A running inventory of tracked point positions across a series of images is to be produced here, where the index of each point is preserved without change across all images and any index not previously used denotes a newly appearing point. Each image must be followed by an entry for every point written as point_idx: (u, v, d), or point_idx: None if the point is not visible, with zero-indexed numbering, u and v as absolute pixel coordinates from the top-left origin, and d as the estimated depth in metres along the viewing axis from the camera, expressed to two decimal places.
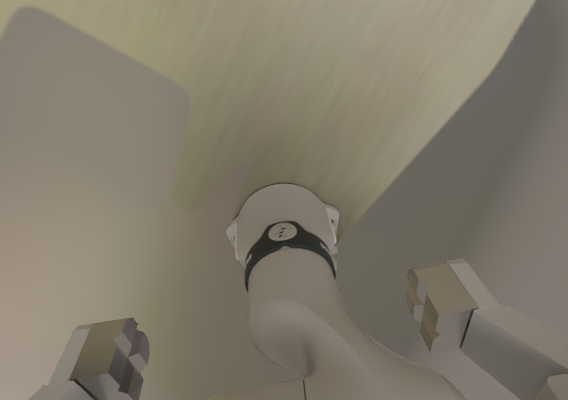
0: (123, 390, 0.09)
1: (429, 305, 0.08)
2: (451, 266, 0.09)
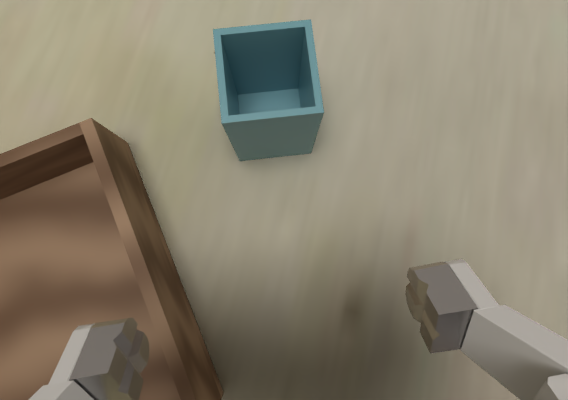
0: (123, 390, 0.09)
1: (429, 305, 0.08)
2: (451, 266, 0.09)
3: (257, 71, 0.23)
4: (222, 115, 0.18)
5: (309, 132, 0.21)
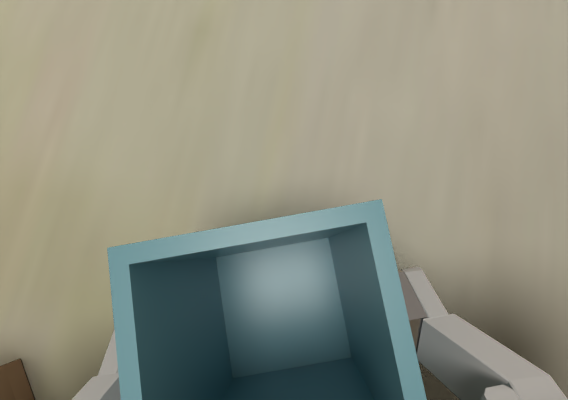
0: None
1: None
2: (407, 274, 0.09)
3: (247, 249, 0.11)
4: None
5: None
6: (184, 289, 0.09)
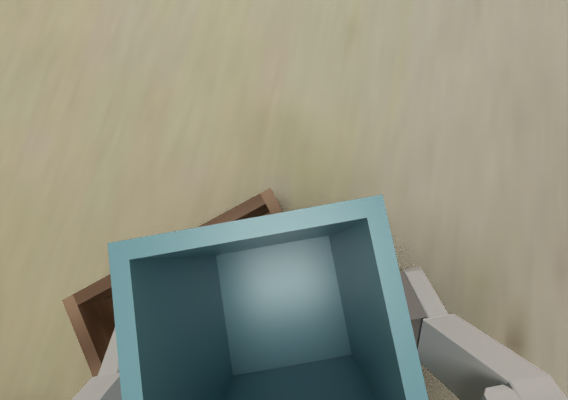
0: None
1: None
2: (407, 274, 0.09)
3: (247, 246, 0.11)
4: None
5: None
6: (184, 286, 0.09)
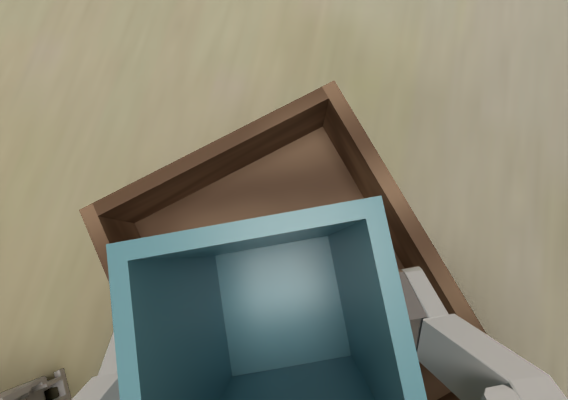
0: None
1: None
2: (407, 274, 0.09)
3: (246, 247, 0.11)
4: None
5: None
6: (183, 286, 0.09)
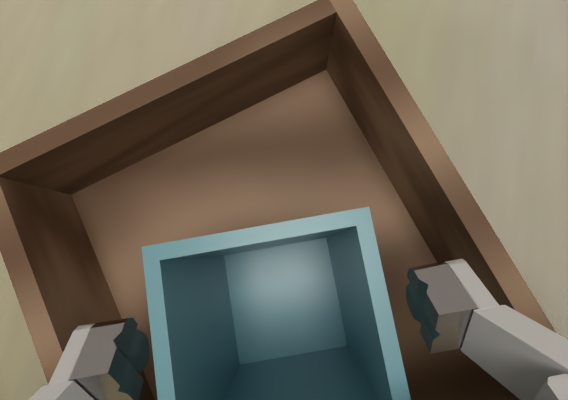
0: (123, 390, 0.09)
1: (429, 305, 0.08)
2: (451, 266, 0.09)
3: (253, 248, 0.12)
4: None
5: None
6: (199, 283, 0.11)
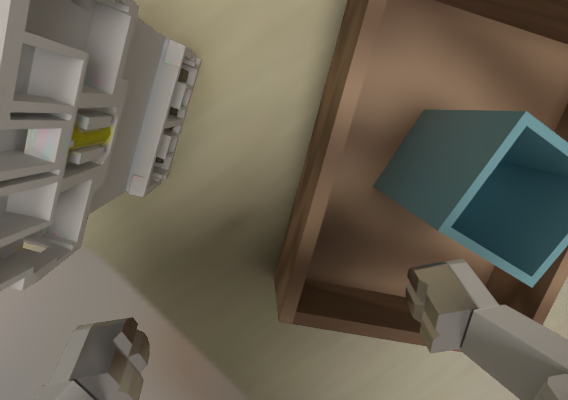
0: (123, 390, 0.09)
1: (429, 305, 0.08)
2: (451, 266, 0.09)
3: None
4: (445, 223, 0.14)
5: None
6: None
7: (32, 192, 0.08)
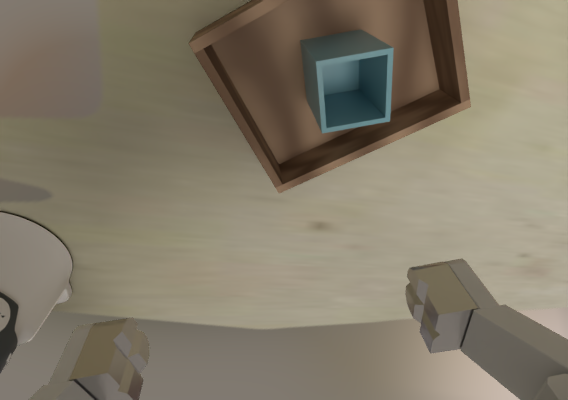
0: (123, 390, 0.09)
1: (429, 305, 0.08)
2: (451, 266, 0.09)
3: (369, 65, 0.28)
4: (322, 61, 0.24)
5: (314, 113, 0.29)
6: None
7: None
